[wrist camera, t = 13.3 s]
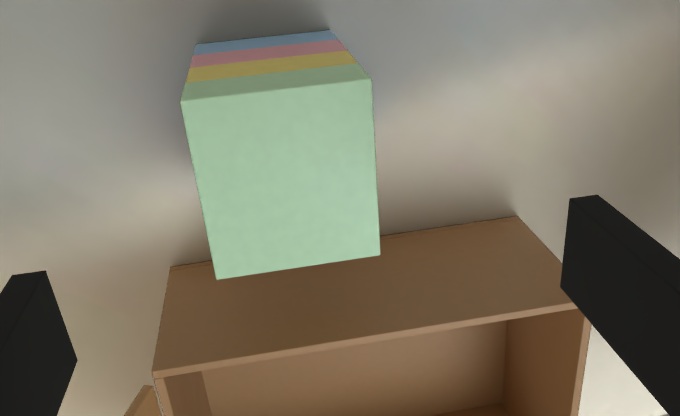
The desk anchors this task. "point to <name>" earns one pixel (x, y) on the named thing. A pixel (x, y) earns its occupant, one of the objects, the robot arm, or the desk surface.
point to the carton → (380, 332)
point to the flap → (144, 403)
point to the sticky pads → (282, 152)
